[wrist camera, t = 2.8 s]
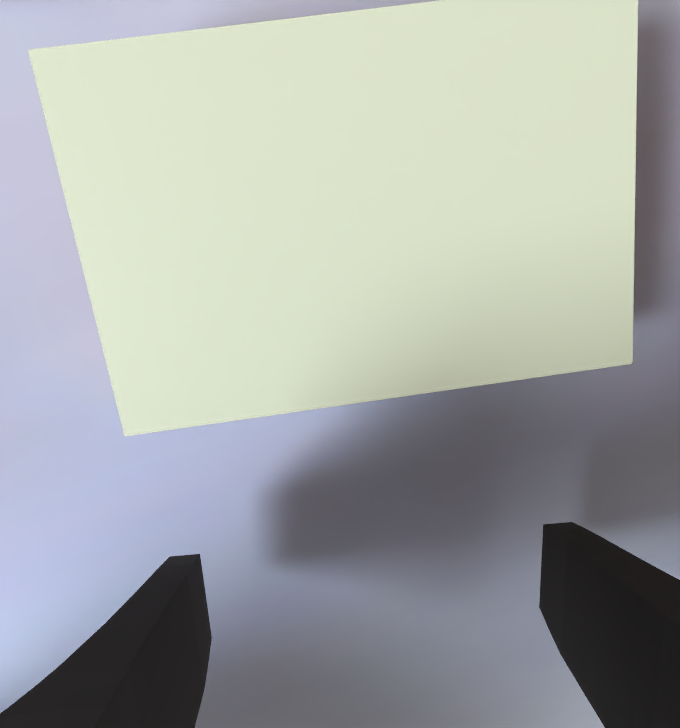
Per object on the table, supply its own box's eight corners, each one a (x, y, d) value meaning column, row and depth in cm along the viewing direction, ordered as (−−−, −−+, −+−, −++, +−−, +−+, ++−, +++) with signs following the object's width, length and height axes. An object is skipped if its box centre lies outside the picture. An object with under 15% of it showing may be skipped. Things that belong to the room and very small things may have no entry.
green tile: (554, 331, 12) (632, 364, 9) (167, 386, 12) (124, 436, 9) (548, 44, 11) (638, -24, 8) (104, 99, 10) (28, 49, 8)
